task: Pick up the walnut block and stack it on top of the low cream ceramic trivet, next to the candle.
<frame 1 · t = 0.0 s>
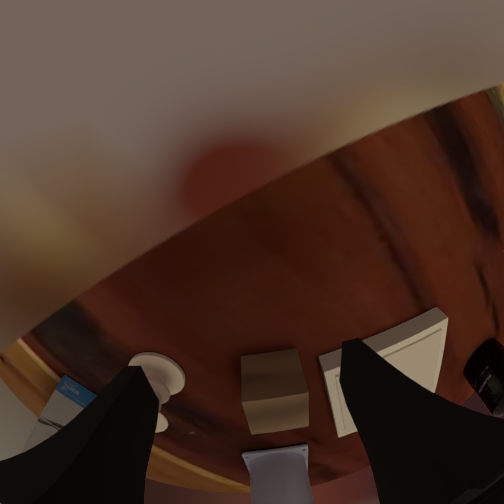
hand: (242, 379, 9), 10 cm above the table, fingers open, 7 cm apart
block: (271, 370, 22), on the table
supplement bottle: (479, 357, 25), on the table
trivet: (383, 374, 23), on the table
ink box: (76, 398, 24), on the table
candle: (157, 371, 22), on the table
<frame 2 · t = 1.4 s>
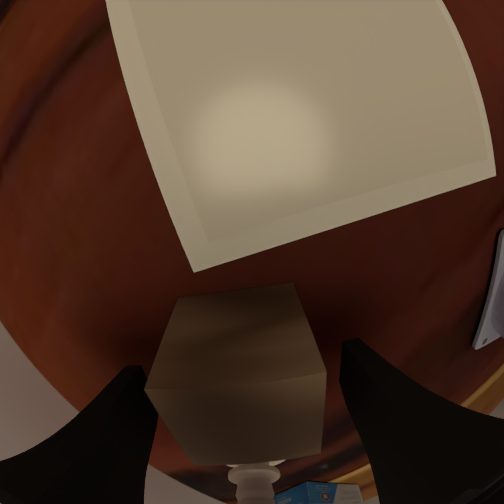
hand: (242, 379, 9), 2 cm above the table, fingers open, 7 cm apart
block: (243, 335, 11), on the table
trivet: (310, 46, 7), on the table
ink box: (318, 489, 19), on the table
candle: (252, 446, 15), on the table
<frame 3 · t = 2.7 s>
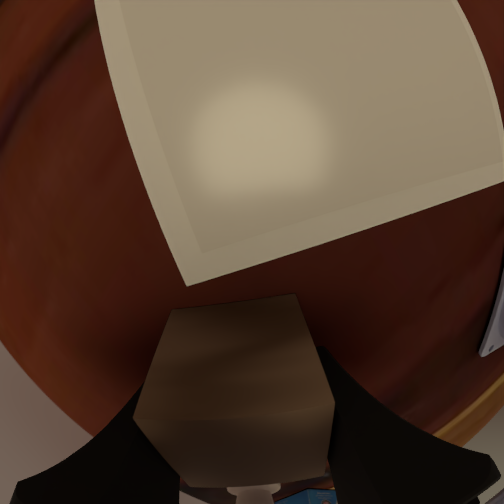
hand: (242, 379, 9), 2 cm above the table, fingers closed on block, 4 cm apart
block: (241, 350, 10), on the table, touching gripper
trivet: (315, 37, 7), on the table
ink box: (318, 495, 18), on the table
candle: (251, 457, 14), on the table
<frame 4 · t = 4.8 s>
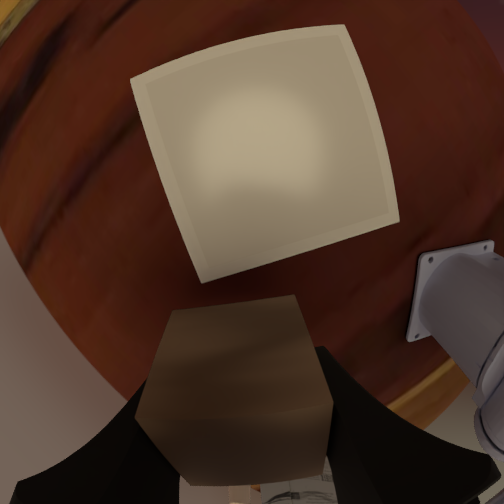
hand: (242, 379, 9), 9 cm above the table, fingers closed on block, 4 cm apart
block: (241, 350, 11), point 7 cm above the table, touching gripper
trivet: (270, 143, 15), on the table
ink box: (295, 458, 26), on the table
candle: (238, 407, 22), on the table
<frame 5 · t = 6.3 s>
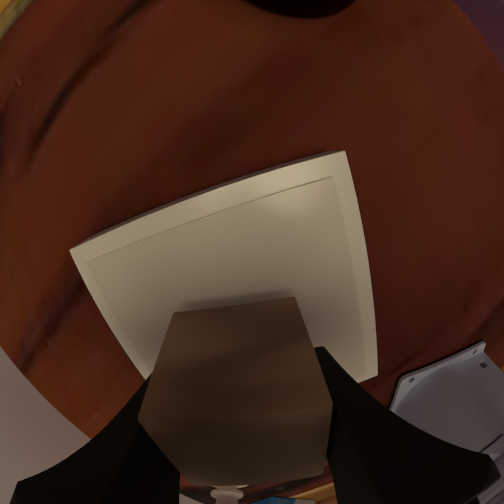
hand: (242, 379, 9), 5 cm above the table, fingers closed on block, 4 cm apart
block: (242, 351, 11), point 3 cm above the table, touching gripper
trivet: (241, 307, 14), on the table
ink box: (282, 501, 25), on the table
candle: (227, 475, 21), on the table
when the fingers open (4 cm above the table, at t = 7.4 s): block stays where it is, resting on trivet.
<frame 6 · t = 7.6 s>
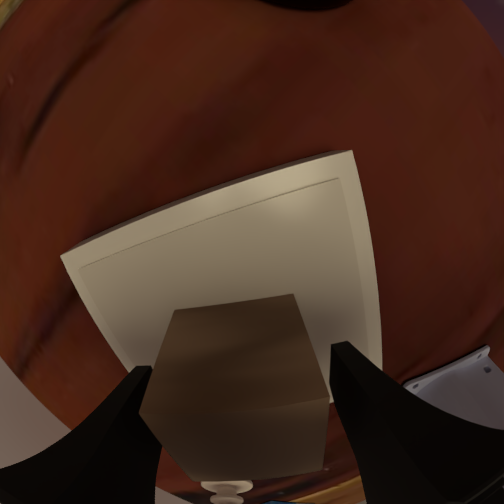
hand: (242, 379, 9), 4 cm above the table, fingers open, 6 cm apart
block: (242, 348, 11), point 2 cm above the table, touching trivet
trivet: (241, 315, 13), on the table
candle: (226, 481, 20), on the table
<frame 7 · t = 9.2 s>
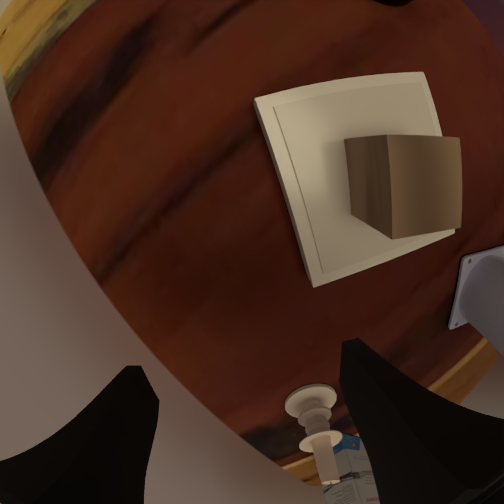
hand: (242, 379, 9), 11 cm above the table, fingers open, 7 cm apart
block: (381, 174, 15), point 2 cm above the table, touching trivet
trivet: (365, 168, 17), on the table
ink box: (345, 444, 29), on the table
candle: (310, 398, 24), on the table
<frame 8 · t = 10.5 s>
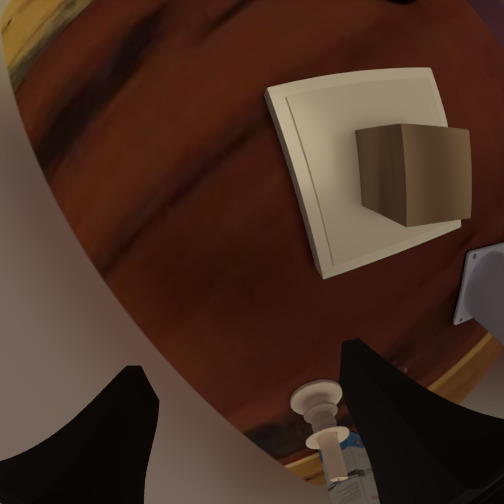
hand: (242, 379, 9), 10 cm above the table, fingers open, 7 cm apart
block: (391, 166, 15), point 2 cm above the table, touching trivet
trivet: (374, 161, 17), on the table
ink box: (349, 442, 28), on the table
candle: (315, 394, 24), on the table
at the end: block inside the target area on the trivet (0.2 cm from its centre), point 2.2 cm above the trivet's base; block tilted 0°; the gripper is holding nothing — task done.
